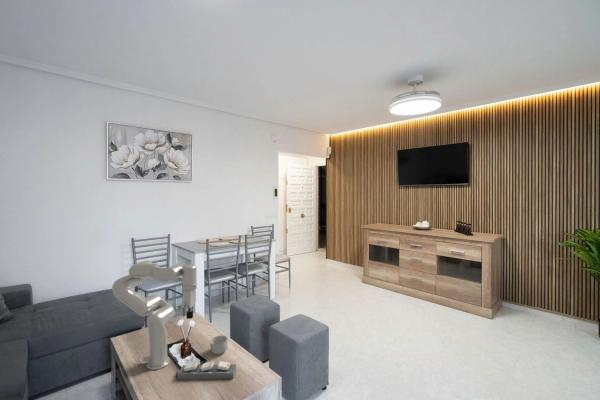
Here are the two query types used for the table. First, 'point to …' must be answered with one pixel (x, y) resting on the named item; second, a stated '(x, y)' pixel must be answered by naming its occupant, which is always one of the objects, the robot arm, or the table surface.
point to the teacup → (218, 344)
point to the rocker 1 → (191, 366)
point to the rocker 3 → (223, 365)
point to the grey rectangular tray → (207, 373)
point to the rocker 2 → (207, 366)
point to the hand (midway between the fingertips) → (189, 317)
